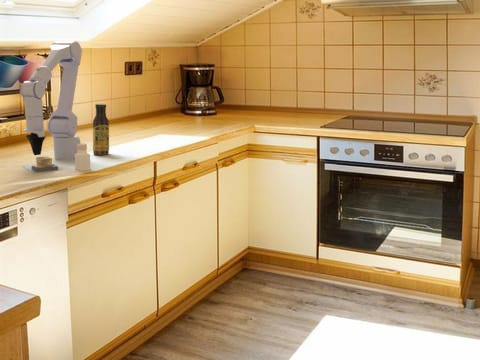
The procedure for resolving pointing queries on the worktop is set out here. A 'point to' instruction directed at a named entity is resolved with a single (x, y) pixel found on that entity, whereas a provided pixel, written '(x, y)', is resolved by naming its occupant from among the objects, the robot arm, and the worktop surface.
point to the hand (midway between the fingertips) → (37, 154)
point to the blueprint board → (39, 170)
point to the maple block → (43, 162)
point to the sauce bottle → (100, 131)
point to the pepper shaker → (82, 158)
